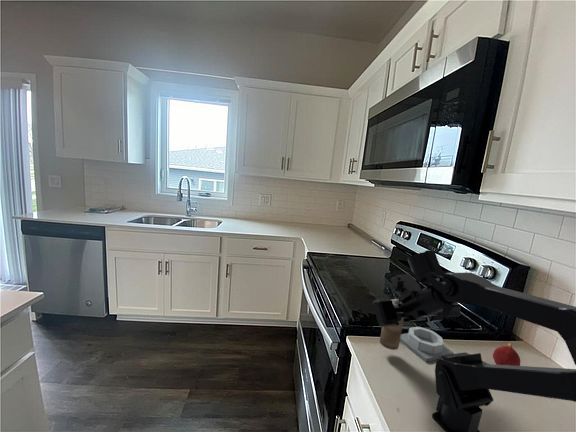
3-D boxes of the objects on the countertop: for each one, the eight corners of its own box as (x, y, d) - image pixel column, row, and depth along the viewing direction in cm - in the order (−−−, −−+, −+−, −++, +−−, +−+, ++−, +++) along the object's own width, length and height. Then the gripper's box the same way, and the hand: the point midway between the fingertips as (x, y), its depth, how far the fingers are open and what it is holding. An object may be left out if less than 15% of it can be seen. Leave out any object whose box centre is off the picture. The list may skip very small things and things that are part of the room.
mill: (402, 348, 75) (411, 302, 73) (388, 351, 73) (397, 304, 71) (389, 337, 80) (397, 294, 77) (375, 339, 78) (383, 295, 75)
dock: (453, 355, 79) (455, 344, 79) (425, 362, 75) (428, 350, 75) (421, 333, 89) (424, 323, 89) (396, 337, 85) (398, 327, 84)
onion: (522, 380, 72) (530, 352, 71) (500, 377, 72) (507, 350, 71) (505, 364, 78) (512, 339, 77) (485, 362, 78) (491, 336, 77)
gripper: (443, 268, 72) (406, 289, 84) (383, 269, 66) (352, 291, 78) (464, 312, 65) (421, 328, 78) (400, 317, 60) (363, 333, 72)
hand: (389, 319), depth 76 cm, fingers closed on mill, 5 cm apart
